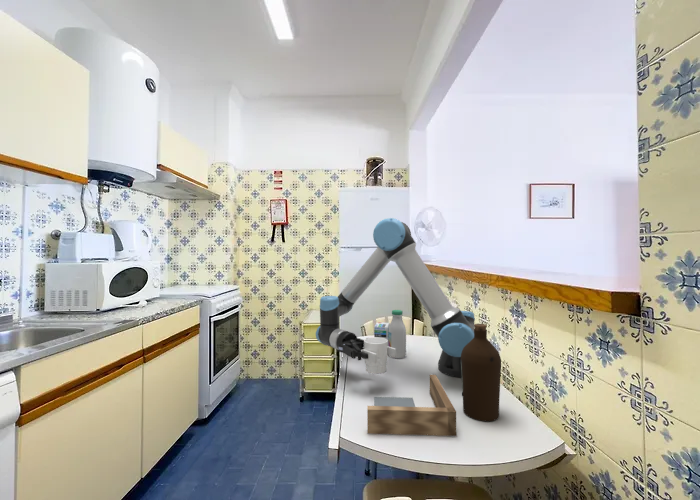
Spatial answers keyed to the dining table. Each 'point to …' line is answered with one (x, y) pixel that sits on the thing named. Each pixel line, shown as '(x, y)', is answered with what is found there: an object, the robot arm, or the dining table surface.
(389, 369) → the dining table surface
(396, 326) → the milk bottle
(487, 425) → the dining table surface
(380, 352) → the white cup
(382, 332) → the light bulb box
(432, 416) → the corner pen
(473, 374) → the brown bottle
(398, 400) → the slate mat
